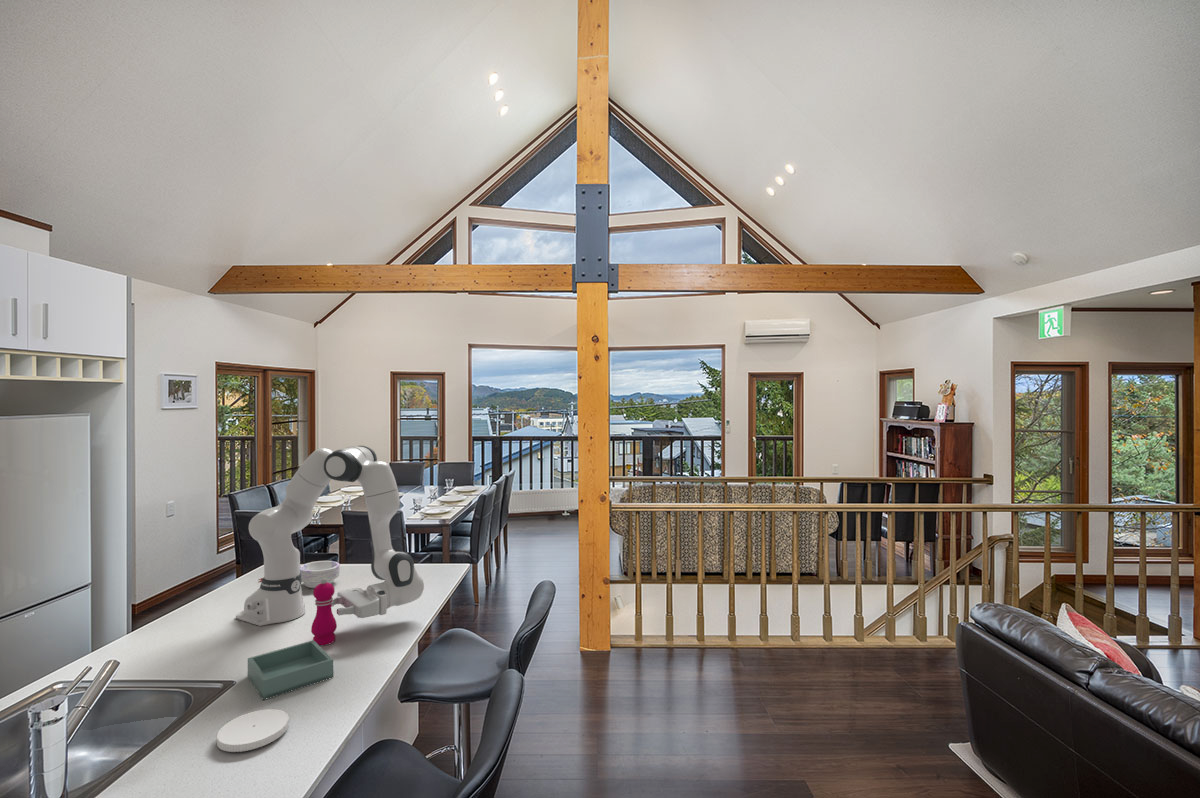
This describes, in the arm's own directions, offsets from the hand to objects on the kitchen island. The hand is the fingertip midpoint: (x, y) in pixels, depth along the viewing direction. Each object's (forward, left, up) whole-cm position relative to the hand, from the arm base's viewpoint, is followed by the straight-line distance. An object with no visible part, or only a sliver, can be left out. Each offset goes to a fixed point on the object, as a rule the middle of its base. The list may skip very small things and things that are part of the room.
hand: (332, 608), depth 180 cm
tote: (+7, -23, -10) cm, 26 cm away
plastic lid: (+21, -47, -11) cm, 53 cm away
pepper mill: (-1, -2, -10) cm, 10 cm away
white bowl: (-44, +42, -10) cm, 62 cm away
